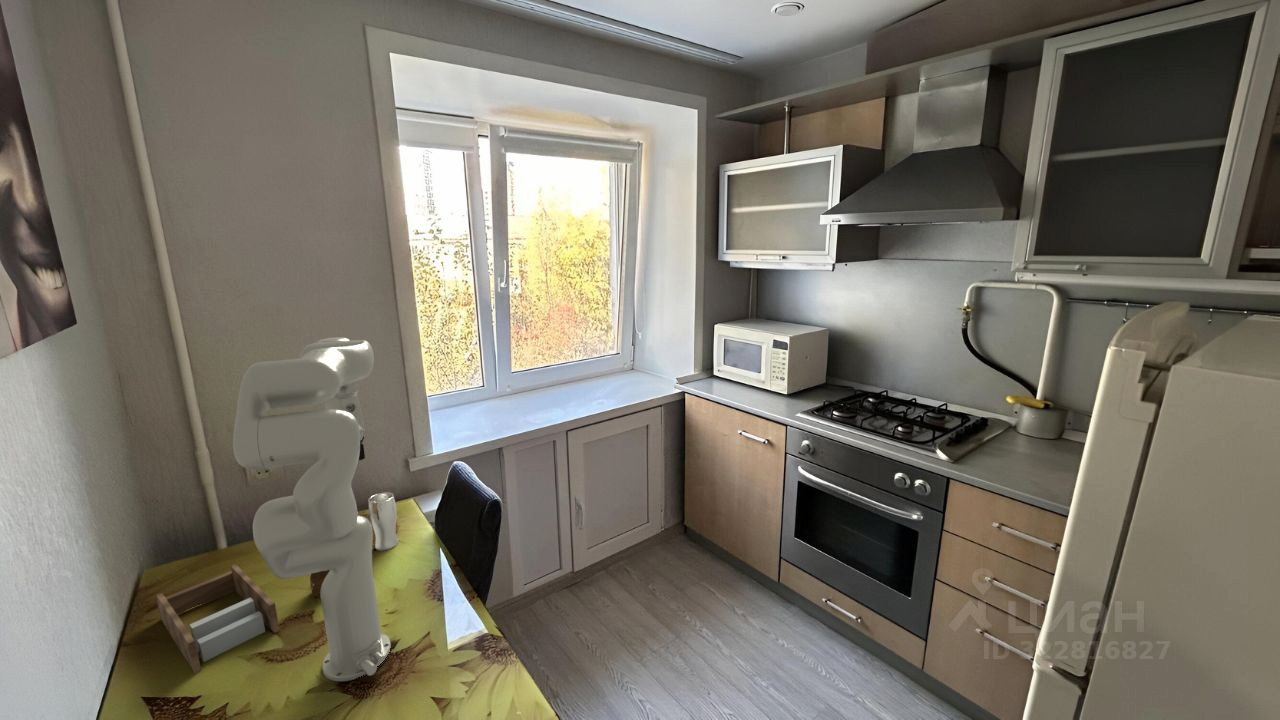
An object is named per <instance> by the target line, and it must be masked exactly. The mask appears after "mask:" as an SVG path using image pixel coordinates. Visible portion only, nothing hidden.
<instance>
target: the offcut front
mask: <svg viewBox="0 0 1280 720" xmlns="http://www.w3.org/2000/svg"><path fill="white" fill-rule="evenodd" d="M265 632H266V628H265V622H264V621H263V616H262V614H261V613H260V612H259V611H258V612H256V613H254V614H251V615H249V616H247V617H245V618H243V619H241V620H239V621H236V622H234V623H232V624H230V625H228V626H226V627H224V628H221V629H219V630H217V631H215V632H213V633H211V634H208V635H206V636H204V637H202V638H200V639H198V640H197V642H198V647H199V651H200V652H199V655H200V659H201V661H202V662H206V661H209V660H211V659H212V658H214V657H217V656H219V655H221V654H223V653H225V652H226V651H229V650H231V649H233V648H235V647H237V646H238V645H241V644H243V643H246V642H247V641H249V640H251V639H253V638H255V637H257V636H260V635H261V634H263V633H265Z"/></svg>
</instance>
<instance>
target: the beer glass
mask: <svg viewBox="0 0 1280 720" xmlns="http://www.w3.org/2000/svg"><path fill="white" fill-rule="evenodd" d="M367 502H368V514H369V521H370V523H371V526H372V530H373V533H374V535H375V544H374V545H375V546H374V547H375V549H376V550H378V551H381V552H382V551H388V550H390V549H393V548H395V547H396V546H398V544H399V539H398V536H397V532H396V526H397V525H396V523H397V506H396V500H395V496H394V493H392V492H389V491H387V492H379V493H375V494H374V495H372V496H370V497H369V498H368V501H367Z"/></svg>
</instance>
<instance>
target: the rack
mask: <svg viewBox="0 0 1280 720" xmlns="http://www.w3.org/2000/svg"><path fill="white" fill-rule="evenodd" d="M233 592H236V593H237V594H238V596H240V597H241V598H242V600H243V601H244V600H246V599H248V598H250V597H251V598H252V599H253V600H254V605H255V610H256V612H258V611H259V612H260V613H261V614H262V616H263V622H264V624H266V625H267V627H268V628H269V629H270V630H271V631H272V632H273V633H274V634H276V633H278V632H280V625H279V620H278V613H277V607H276V603H275V601H273V600H272V598H270V597H269V596H268V595H267V594H266V592H265V591H263V590H262V589H261V588H260V587H259V586H258V585H257V584H256V582H255V581H253V580H252V579H251V578H250V577H249V576H248V575H247V574H246V573H245V571H244V570H243V569H241V568H240V567H239V566H238V565H237V564H236V563H233V564H231V565H230V570H229V571H227V572H224V573H222V574H219V575H217V576H215V577H212V578H210V579H207V580H205V581H201V582H200V583H196V584H194V585H192V586H190V587H188V588H187V587H186V588H185V589H182V590H180V591H177V592H175V593H172V594H169V595H167V596H165V595H164V594H163V592H160V593H157V594H156V595H155V596H156V604H157V607H158V608H157V609H158V612H159V616H160V620H161V622H162V621H163V622H162V624H163V623H164V624H163V625H164V626H166V627H165V628H166V630H167V632H168V631H169V632H168V633H169V635H170V636H171V637H172V640H173V641H174V642H175V645H176V646H177V647H178V649H179V651H180V652H181V654H182V655H183V657H184V658H185V660H186V662H187V663H188V666H189V667H190V668H191V669H192V672H194V674H197V673H199V672H201V671H202V667H201V663H200V657H199V654H198V653H199V652H198V653H197V648H196V644H195V640H194V639H193V637H192V634H191V632H190V631H189V630H188V629H187V627H186V626H185V624H184V623H183V621H182V620H181V618H180V616H179V615H178V614H180V613H182V612H184V611H186V610H187V609H190V608H192V607H195V606H197V605H200V604H203V603H206V602H208V603H210V602H209V601H211V602H213V601H215V600H218V599H220V598H222V597H224V596H226V595H229V594H232V593H233ZM217 598H218V599H217ZM214 599H215V600H214ZM212 600H213V601H212ZM206 604H207V603H206ZM180 615H181V614H180Z"/></svg>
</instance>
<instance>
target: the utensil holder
mask: <svg viewBox="0 0 1280 720" xmlns="http://www.w3.org/2000/svg"><path fill="white" fill-rule="evenodd" d="M329 571H330V570H327V571H320V572H316V573H311V574H310V577H309V583H310V589H311V593H312V596H314V597H315V598H321V596H320V591H321V586H322V583H323V581H324V579H325V577H326V576H327V574H328V573H329Z"/></svg>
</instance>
